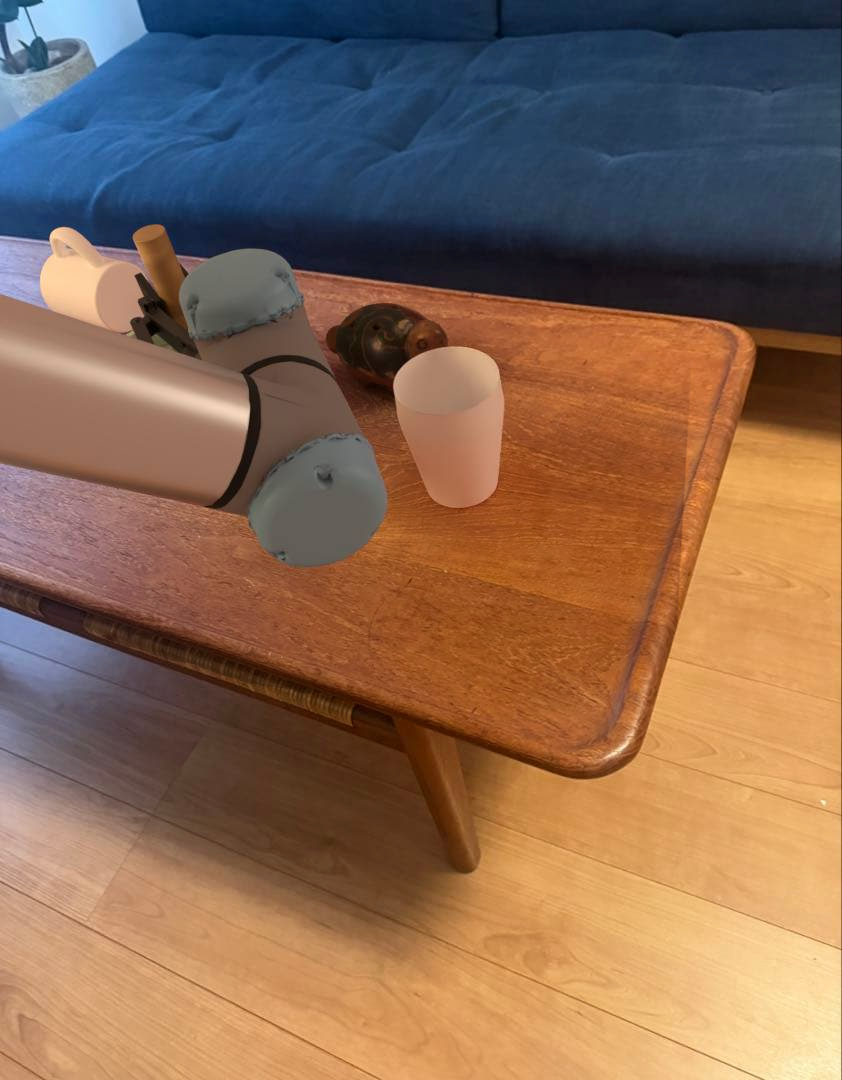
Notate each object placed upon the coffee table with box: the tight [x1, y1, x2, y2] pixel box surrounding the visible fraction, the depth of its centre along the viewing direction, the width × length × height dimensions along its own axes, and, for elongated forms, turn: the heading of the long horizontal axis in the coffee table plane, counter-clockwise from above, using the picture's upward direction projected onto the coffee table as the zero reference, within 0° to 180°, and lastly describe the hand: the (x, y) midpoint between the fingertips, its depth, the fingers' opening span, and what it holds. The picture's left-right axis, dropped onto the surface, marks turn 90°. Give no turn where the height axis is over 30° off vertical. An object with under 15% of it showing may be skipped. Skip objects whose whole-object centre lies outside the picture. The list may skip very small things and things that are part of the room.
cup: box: [393, 346, 505, 509], centre depth 71 cm, size 9×9×12 cm
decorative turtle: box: [325, 302, 449, 397], centre depth 84 cm, size 10×15×8 cm, turn 63°
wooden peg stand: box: [132, 223, 189, 329], centre depth 81 cm, size 6×6×17 cm
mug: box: [39, 226, 149, 334], centre depth 99 cm, size 8×10×12 cm
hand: (160, 278), depth 83 cm, fingers closed on wooden peg stand, 3 cm apart
